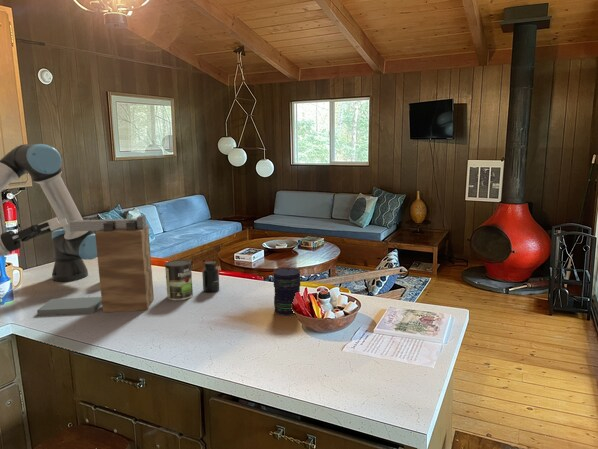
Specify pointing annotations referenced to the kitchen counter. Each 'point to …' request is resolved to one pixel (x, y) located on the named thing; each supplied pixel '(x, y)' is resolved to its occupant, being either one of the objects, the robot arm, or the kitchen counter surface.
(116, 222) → the grey bar
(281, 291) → the storage jar
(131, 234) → the brown wooden tall block
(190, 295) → the coffee can
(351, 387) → the kitchen counter surface
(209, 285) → the supplement bottle
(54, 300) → the gray block
